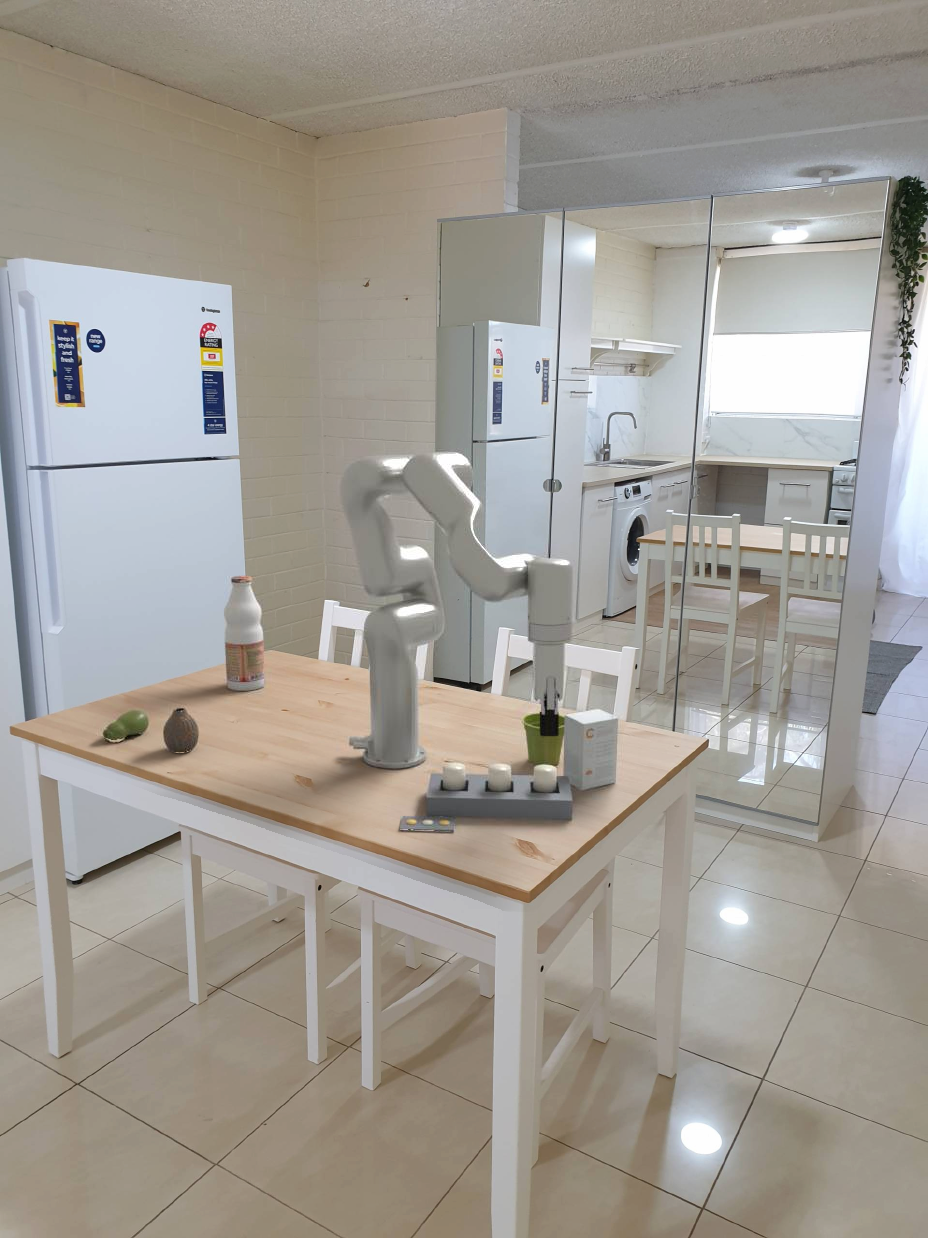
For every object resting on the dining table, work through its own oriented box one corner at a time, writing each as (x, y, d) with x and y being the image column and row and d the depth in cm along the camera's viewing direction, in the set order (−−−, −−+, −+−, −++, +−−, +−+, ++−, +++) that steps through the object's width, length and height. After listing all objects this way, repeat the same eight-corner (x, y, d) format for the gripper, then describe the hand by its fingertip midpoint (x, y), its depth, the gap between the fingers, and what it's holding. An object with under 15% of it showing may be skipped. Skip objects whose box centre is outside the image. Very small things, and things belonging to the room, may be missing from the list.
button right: (533, 792, 164) (534, 772, 163) (533, 783, 168) (533, 764, 167) (556, 792, 164) (557, 773, 163) (555, 783, 168) (556, 764, 167)
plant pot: (575, 758, 190) (576, 717, 188) (555, 773, 182) (556, 730, 180) (533, 750, 194) (534, 709, 192) (512, 764, 186) (513, 722, 185)
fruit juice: (223, 691, 233) (217, 580, 227) (231, 681, 242) (226, 573, 236) (261, 691, 233) (256, 580, 227) (268, 681, 242) (264, 573, 236)
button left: (442, 790, 165) (442, 770, 164) (443, 781, 168) (443, 762, 168) (465, 790, 164) (465, 771, 164) (465, 782, 168) (466, 763, 168)
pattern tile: (399, 831, 156) (399, 828, 156) (402, 818, 161) (402, 815, 161) (453, 832, 156) (453, 829, 156) (455, 819, 161) (455, 816, 161)
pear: (151, 709, 201) (111, 728, 194) (156, 731, 203) (117, 751, 196) (134, 704, 204) (95, 723, 197) (139, 726, 206) (100, 745, 199)
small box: (596, 772, 183) (598, 708, 180) (616, 783, 177) (619, 717, 174) (561, 779, 179) (563, 714, 176) (581, 791, 173) (583, 723, 171)
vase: (184, 742, 197) (182, 702, 195) (206, 749, 193) (204, 708, 192) (157, 751, 192) (154, 710, 190) (179, 758, 188) (176, 717, 186)
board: (426, 816, 162) (426, 797, 161) (431, 791, 173) (431, 773, 172) (572, 819, 161) (572, 800, 160) (567, 794, 172) (568, 776, 171)
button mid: (487, 791, 164) (488, 771, 164) (488, 782, 168) (488, 763, 167) (510, 791, 164) (511, 772, 163) (510, 782, 168) (510, 764, 167)
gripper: (526, 622, 167) (526, 721, 171) (528, 641, 153) (528, 749, 156) (568, 622, 167) (567, 721, 171) (575, 641, 152) (574, 749, 156)
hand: (549, 734), depth 163 cm, fingers closed
